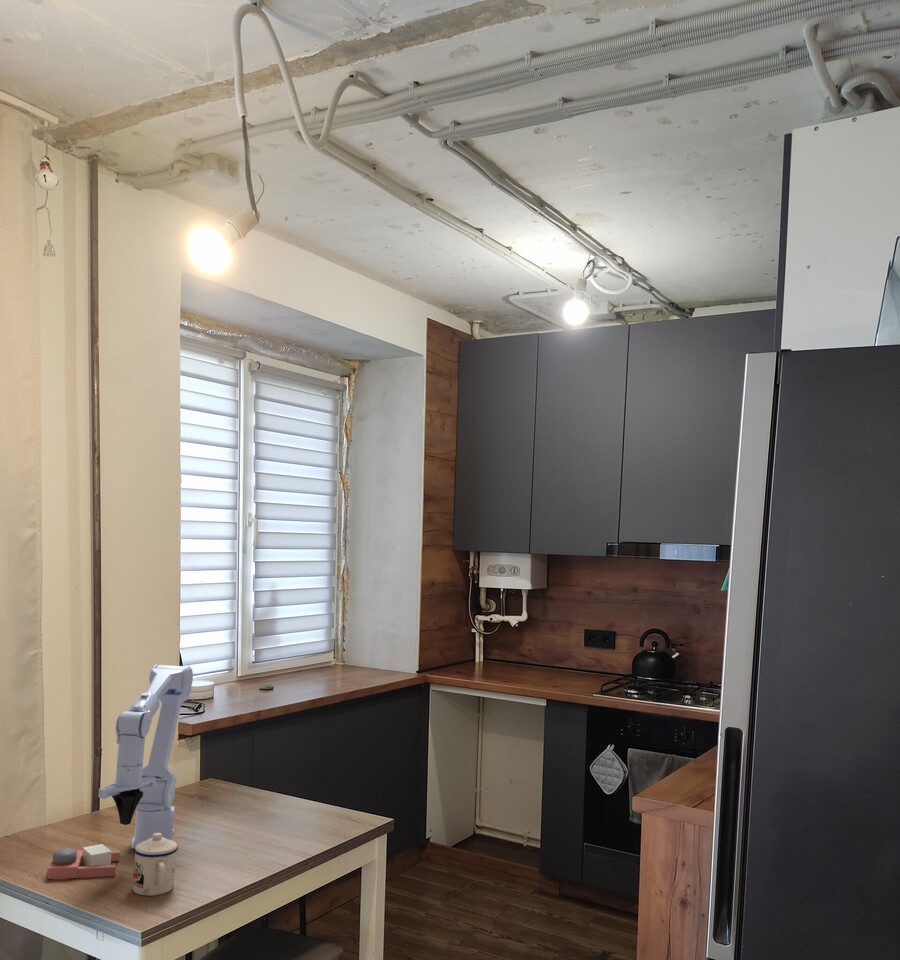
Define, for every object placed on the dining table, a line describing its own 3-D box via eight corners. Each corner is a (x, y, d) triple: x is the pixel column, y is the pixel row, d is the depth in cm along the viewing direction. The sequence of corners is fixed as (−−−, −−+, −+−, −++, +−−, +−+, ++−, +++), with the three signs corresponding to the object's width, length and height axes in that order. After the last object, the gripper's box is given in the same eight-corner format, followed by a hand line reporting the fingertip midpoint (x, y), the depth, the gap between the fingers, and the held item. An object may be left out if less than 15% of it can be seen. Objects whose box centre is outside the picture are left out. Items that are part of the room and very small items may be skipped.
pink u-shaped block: (119, 859, 206) (121, 839, 206) (114, 876, 195) (116, 856, 195) (55, 862, 202) (57, 842, 202) (47, 879, 191) (49, 858, 192)
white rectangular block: (100, 863, 203) (102, 843, 203) (110, 871, 198) (111, 851, 199) (81, 867, 200) (82, 847, 200) (89, 875, 195) (91, 855, 196)
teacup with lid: (127, 884, 191) (131, 829, 192) (169, 878, 196) (173, 825, 197) (137, 904, 181) (142, 847, 182) (182, 898, 185) (186, 842, 186)
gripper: (144, 755, 211) (139, 812, 210) (92, 766, 199) (87, 827, 197) (163, 760, 207) (159, 818, 206) (112, 772, 195) (106, 834, 194)
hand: (125, 823), depth 201 cm, fingers closed
